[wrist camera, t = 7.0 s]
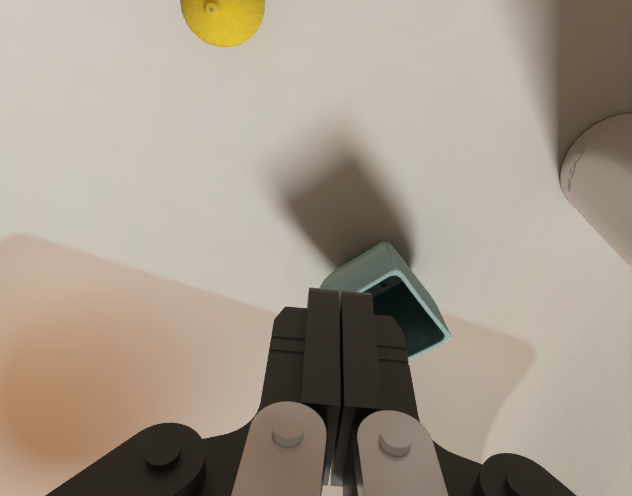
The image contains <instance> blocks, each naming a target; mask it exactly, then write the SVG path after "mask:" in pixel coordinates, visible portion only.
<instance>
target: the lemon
mask: <svg viewBox="0 0 632 496" xmlns="http://www.w3.org/2000/svg"><path fill="white" fill-rule="evenodd" d="M180 3H181V9H182V13H183V16H184V18H185V21H186V23H187V25H188V26H189V27H190V29H191V30H192V32H193V33H194V34H195V35H196V36H198V37H199V38H200V39H201V40H203V41H205V42H206V43H208V44H211V45H214V46H218V47H232V46H236V45H240V44H242V43H243V42H245V41H247V40H248V39H250V38H251V37H252V36H253V35H254V34H255V33H256V31H257V30H258V28H259V26H260V24H261V22H262V19H263V15H264V6H265V0H180Z"/></svg>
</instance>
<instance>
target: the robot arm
mask: <svg viewBox="0 0 632 496" xmlns="http://www.w3.org/2000/svg"><path fill="white" fill-rule="evenodd" d="M560 183H561V187H562V191H563V193H564V195H565V196H566V198H567V200H568V201H569V202H570V203H571V204H572V205H573V206H574V207H575V208H576V209H577V211H578V212H579V213H580V214H581V215H582V216H583V217H584V218H585V219H586V220H587V222H588V223H589V224H590V225H591V226H592V227H593V228H594V229H595V230H596V231H597V232H598V233H599V234H600V236H601V237H602V238H603V239H604V240H605V241H606V242H607V243H608V244H609V245H610V246H611V247H612V248H613V249H614V250H615V251H616V253H617V254H618V255H619V256H620V257H621V258H622V259H623V260H624V261H625V262H626V263H627V264H628V265H629V266H630V267H631V269H632V113H630V114H620V115H617V116H613V117H610V118H607V119H605V120H603V121H601V122H599V123H597V124H595V125H594V126H592V127H591V128H589V129H588V130H586V131H585V132H584V133H583V134H582V135H581V136H580V137H579V138H578V139H577V140H576V141H575V142H574V144H573V145H572V146H571V148H570V149H569V150H568V152H567V154H566V157H565V159H564V161H563V164H562V168H561V176H560ZM330 468H331V486H341V487H343V496H576V495H575V494H574V493H573V492H571V491H570V490H569V489H568V488H567V487H566V486H564V485H563V484H562V483H561V482H560V481H558V480H557V479H556V478H555V477H554V476H552V475H551V474H550V473H549V472H548V471H547V470H545V469H544V468H543V467H541V466H540V465H539V464H537V463H536V462H534V461H532V460H530V459H528V458H526V457H523V456H520V455H517V454H511V453H501V454H496V455H493V456H491V457H490V458H488V459H487V460H486V461H485V462H484V464H483V465H482V464H479V463H477V462H474V461H471V460H469V459H466V458H463V457H460V456H458V455H456V454H453V453H451V452H449V451H447V450H445V449H444V448H442V447H441V446H439V445H438V444H437V443H435V442H434V441H433V440H432V438H431V436H430V434H429V432H428V431H427V429H426V428H425V427H424V426H423V425H422V424H421V423H420V420H419V417H418V412H417V406H416V401H415V395H414V389H413V384H412V379H411V373H410V367H409V365H408V356H407V351H406V345H405V339H404V334H403V331H402V329H401V328H400V327H399V325H398V324H397V322H396V321H395V320H394V318H393V317H392V316H385V315H374V310H373V301H372V294H371V293H364V292H353V291H342V290H341V292H340V298H339V290H330V289H319V288H309V294H308V304H307V308H296V307H285V308H284V309H283V310H282V311H281V312H280V314H279V315H278V316H277V317H276V318H275V319H274V324H273V330H272V338H271V342H270V348H269V355H268V361H267V367H266V373H265V380H264V385H263V391H262V397H261V403H260V407H259V409H258V411H257V413H256V415H255V416H254V417H253V419H252V420H251V421H250V422H249V423H247V424H246V425H245V426H243V427H242V428H240V429H238V430H236V431H234V432H231V433H228V434H224V435H220V436H215V437H210V438H206V439H201V437H200V436H199V434H198V433H197V432H196V431H194V430H193V429H192V428H190V427H188V426H186V425H182V424H178V423H162V424H157V425H153V426H151V427H148V428H146V429H144V430H142V431H140V432H139V433H138V434H136V435H134V436H133V437H131V438H130V439H128V440H127V441H125V442H124V443H122V444H121V445H120V446H118V447H117V448H115V449H114V450H112V451H111V452H109V453H108V454H106V455H105V456H103V457H102V458H100V459H99V460H97V461H96V462H95V463H93V464H91V465H90V466H88V467H87V468H86V469H84V470H83V471H81V472H80V473H78V474H77V475H75V476H74V477H73V478H71V479H69V480H68V481H66V482H65V483H63V484H62V485H61V486H59V487H57V488H56V489H54V490H53V491H52V492H50V493H49V494H47V495H46V496H321V493H322V487H323V485H328V480H329V474H330Z"/></svg>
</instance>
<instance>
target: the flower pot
mask: <svg viewBox="0 0 632 496" xmlns="http://www.w3.org/2000/svg"><path fill="white" fill-rule="evenodd" d="M382 282H387V284H386V285H382ZM320 289H330V290H339V298H340V292H341V290H342V291H353V292H364V293H371V294H372V301H373V310H374V315H385V316H392V317H393V318H394V320H395V321H396V322H397V324H398V325H399V327H400V328H401V329H402V331H403V334H404V339H405V345H406V351H407V356H408V360H410V359H412V358H414V357H416V356H418V355H420V354H423V353H425V352H427V351H429V350H431V349H433V348H435V347H438V346H439V345H441V344H443V343H445V342H447V341H448V340H450V339H451V334H450V333H449V330H448V328H447V326H446V324H445V322H444V320H443V318H442V315H441V313H440V311H439V309H438V307H437V305H436V303H435V302H434V300H433V298H432V297H431V295H430V294H429V293H428V292H427V290H426V289H425V288H424V286H423V285H422V284H421V283H420V281H419V280H418V279H417V277H416V276H415V275H414V274H413V272H412V271H411V270H410V268H409V267H408V266H407V264H406V263H405V262H404V260H403V259H402V258H401V256H400V255H399V254H398V252H397V251H396V249H395V248H394V247H393V246H392V245H391V244H390V243H388V242H381V243H379V244H377V245H375V246H374V247H372V248H370V249H369V250H367V251H365V252H364V253H362V254H360V255H359V256H357V257H355V258H354V259H352V260H350V261H349V262H347V263H345V264H343V265H342V266H340V267H339V268H337V269H336V270H335V271H333V272H332V273H331V274H330V275H329V276H328V277H327V278H326V279H325V280H324V282H323V283H322V285H321V287H320Z"/></svg>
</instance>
